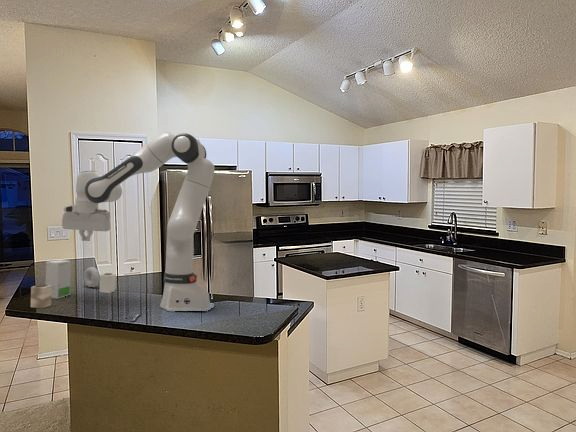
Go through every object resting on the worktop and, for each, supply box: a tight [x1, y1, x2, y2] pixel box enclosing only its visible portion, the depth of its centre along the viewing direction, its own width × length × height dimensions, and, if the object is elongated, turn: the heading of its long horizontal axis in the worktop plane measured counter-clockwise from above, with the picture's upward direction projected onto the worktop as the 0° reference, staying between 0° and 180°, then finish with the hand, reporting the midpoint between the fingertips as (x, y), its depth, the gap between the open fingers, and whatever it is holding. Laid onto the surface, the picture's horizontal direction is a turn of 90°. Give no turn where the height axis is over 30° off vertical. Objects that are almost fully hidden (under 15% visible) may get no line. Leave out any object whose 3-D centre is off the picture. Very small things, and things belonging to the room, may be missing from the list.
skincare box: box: [45, 259, 72, 300], centre depth 183 cm, size 8×7×16 cm
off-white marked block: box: [99, 272, 117, 294], centre depth 197 cm, size 5×5×8 cm
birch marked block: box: [30, 284, 52, 309], centre depth 167 cm, size 5×5×8 cm
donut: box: [83, 266, 101, 288], centre depth 204 cm, size 10×3×10 cm, turn 59°
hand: (85, 240), depth 181 cm, fingers closed
